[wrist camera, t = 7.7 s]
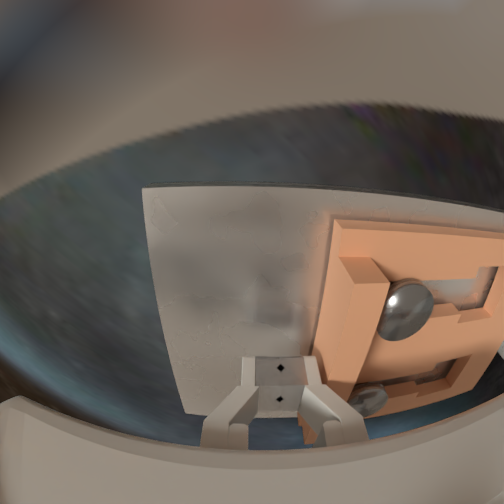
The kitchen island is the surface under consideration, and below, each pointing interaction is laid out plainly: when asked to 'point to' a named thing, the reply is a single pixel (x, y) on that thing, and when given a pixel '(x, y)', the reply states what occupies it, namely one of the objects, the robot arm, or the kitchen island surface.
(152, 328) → the kitchen island surface
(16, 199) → the kitchen island surface
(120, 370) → the kitchen island surface
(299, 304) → the boss plate
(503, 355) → the supplement box
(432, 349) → the panel
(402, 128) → the kitchen island surface
